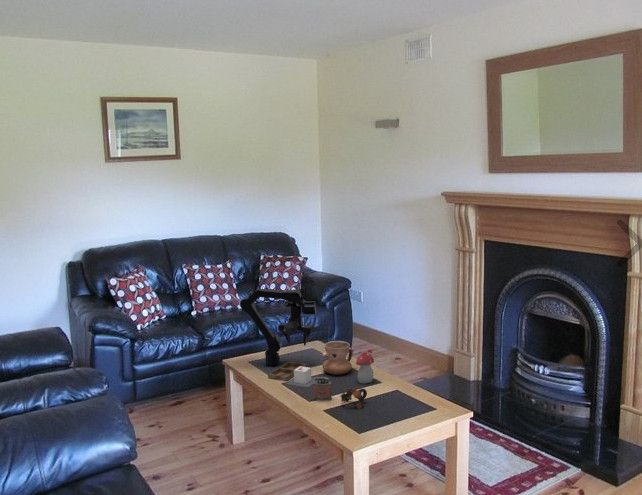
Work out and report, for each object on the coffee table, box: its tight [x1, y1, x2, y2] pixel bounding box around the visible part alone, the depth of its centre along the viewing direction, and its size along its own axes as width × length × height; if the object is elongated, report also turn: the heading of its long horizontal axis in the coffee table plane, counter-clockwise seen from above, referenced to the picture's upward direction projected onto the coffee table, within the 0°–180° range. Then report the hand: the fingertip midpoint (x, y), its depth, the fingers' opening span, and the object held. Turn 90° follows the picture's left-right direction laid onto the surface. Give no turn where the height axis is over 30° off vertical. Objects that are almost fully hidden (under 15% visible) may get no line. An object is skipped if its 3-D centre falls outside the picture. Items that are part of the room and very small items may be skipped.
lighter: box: [312, 376, 333, 402], centre depth 264 cm, size 8×3×10 cm, turn 84°
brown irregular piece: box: [340, 387, 368, 410], centre depth 258 cm, size 12×10×8 cm
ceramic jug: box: [322, 340, 354, 376], centre depth 298 cm, size 18×14×14 cm
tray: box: [267, 361, 308, 382], centre depth 297 cm, size 11×20×2 cm, turn 153°
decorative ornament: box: [355, 349, 375, 385], centre depth 283 cm, size 9×6×15 cm
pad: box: [285, 376, 317, 388], centre depth 286 cm, size 12×12×1 cm
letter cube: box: [293, 366, 312, 384], centre depth 285 cm, size 6×6×6 cm
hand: (296, 344), depth 308 cm, fingers open, 9 cm apart
